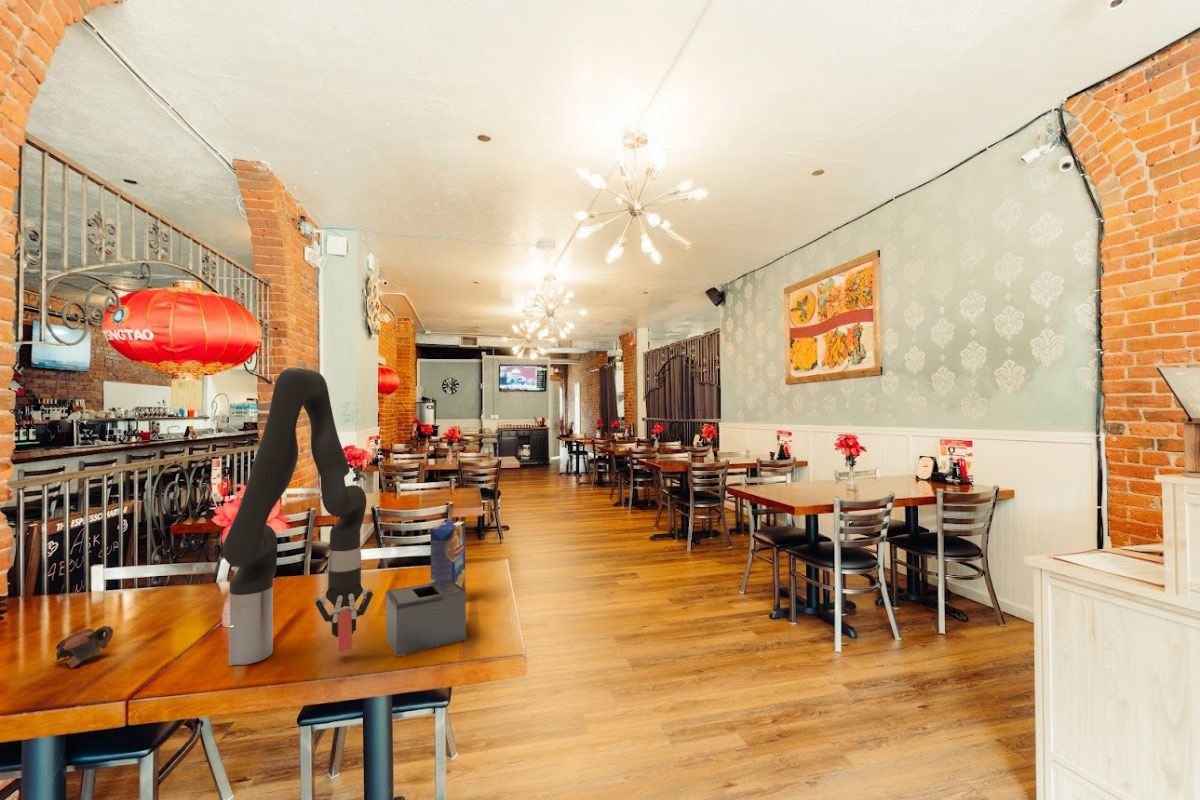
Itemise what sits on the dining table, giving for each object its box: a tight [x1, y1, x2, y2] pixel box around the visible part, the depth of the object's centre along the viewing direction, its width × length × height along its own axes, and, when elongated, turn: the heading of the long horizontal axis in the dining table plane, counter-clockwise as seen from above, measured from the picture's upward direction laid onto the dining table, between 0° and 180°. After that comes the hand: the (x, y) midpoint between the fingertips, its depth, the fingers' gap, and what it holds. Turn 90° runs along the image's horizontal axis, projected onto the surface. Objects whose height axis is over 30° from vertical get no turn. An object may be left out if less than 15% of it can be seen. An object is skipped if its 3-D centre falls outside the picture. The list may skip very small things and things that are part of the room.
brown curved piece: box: [55, 625, 114, 669], centre depth 136 cm, size 12×9×8 cm
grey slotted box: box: [385, 580, 467, 657], centre depth 146 cm, size 18×13×13 cm
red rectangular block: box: [335, 607, 353, 653], centre depth 135 cm, size 3×5×9 cm, turn 32°
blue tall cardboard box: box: [430, 520, 467, 593], centre depth 179 cm, size 12×8×24 cm, turn 175°
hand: (343, 634), depth 135 cm, fingers closed on red rectangular block, 3 cm apart
